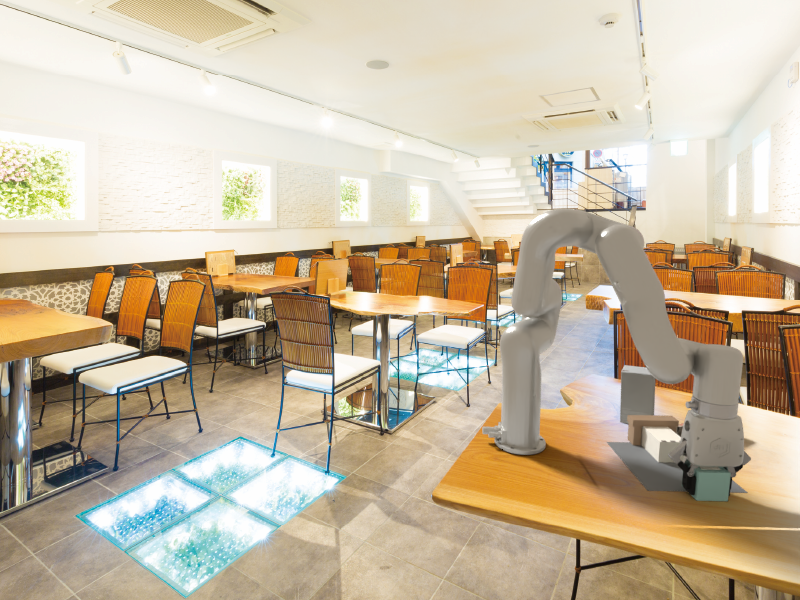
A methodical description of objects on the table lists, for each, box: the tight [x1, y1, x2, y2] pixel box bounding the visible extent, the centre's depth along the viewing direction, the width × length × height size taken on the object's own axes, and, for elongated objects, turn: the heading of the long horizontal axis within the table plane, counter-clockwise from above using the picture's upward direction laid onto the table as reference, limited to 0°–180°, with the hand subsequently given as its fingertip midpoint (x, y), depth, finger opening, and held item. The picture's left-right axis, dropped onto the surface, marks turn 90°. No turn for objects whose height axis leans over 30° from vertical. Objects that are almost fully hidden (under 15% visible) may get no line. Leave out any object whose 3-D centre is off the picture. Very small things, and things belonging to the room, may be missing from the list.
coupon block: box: [627, 414, 686, 463], centre depth 112 cm, size 11×12×7 cm
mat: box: [606, 441, 748, 494], centre depth 105 cm, size 20×22×1 cm
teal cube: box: [682, 464, 731, 502], centre depth 93 cm, size 6×5×6 cm
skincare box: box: [619, 364, 656, 425], centre depth 128 cm, size 8×7×16 cm
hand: (705, 491), depth 93 cm, fingers closed on teal cube, 6 cm apart
